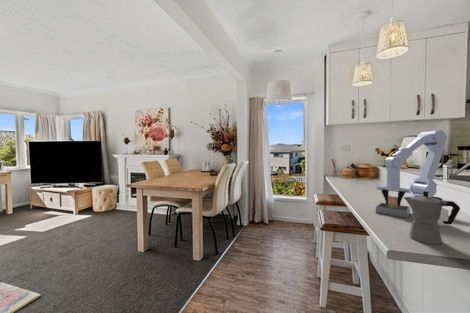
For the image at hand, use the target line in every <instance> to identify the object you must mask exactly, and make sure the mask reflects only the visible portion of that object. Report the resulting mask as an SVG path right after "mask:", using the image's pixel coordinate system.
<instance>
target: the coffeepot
mask: <svg viewBox="0 0 470 313" xmlns="http://www.w3.org/2000/svg"><path fill="white" fill-rule="evenodd" d="M428 193H429V192H427V191H424V192H423V194H424V196H419V197H414V196H405V197H404V196H403V199H404V200H405V201H406V202H407V203H408V206H409V207H410V209H411V213H412V216H413V220H412V223H411V228H410V231H409V237H410V238H411V239H412V240H414V241H416V242H419V243H423V244H428V245H436V246H437V245H441V244H443V239H442V235H441V230H440V226H439V225H438V219H439V218H440V214H441V209H442V208H443V207H451V208H452V209H451V211H450V214H449V215H448V221H443V223H444V224H448V225H452V224H453V223H454V222H455V219H456V218H457V216H458V214H459V212H460V210H461V207H460V206H459V205H458V204H457V203H456V202H455V201H453V200H445V199H444V200H439V199H435V198H432V197H428ZM442 206H443V207H442Z"/></svg>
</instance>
